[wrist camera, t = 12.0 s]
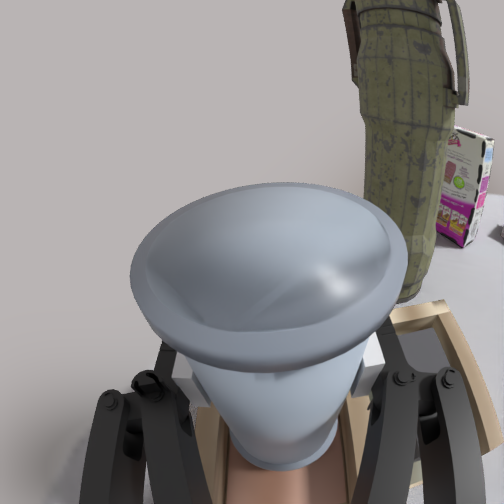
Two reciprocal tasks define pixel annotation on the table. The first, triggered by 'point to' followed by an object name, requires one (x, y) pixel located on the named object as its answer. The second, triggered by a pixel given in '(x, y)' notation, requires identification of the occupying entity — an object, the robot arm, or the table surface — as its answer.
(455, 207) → the candy bar box
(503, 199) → the table surface
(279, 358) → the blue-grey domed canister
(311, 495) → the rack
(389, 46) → the thermos
